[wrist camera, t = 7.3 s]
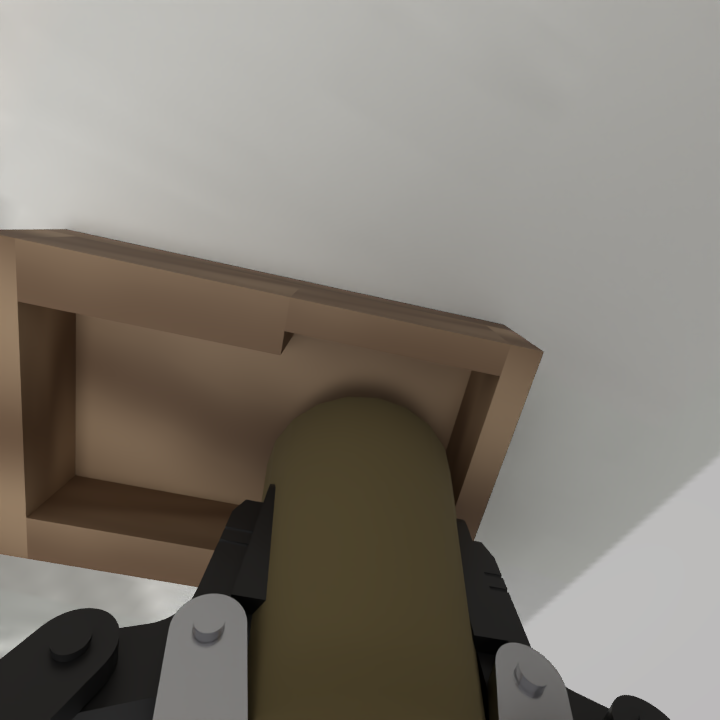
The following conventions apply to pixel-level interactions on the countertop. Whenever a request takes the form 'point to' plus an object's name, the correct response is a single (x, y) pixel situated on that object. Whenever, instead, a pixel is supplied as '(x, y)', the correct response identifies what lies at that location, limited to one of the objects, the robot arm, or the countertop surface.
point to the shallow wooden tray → (208, 394)
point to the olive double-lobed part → (362, 575)
